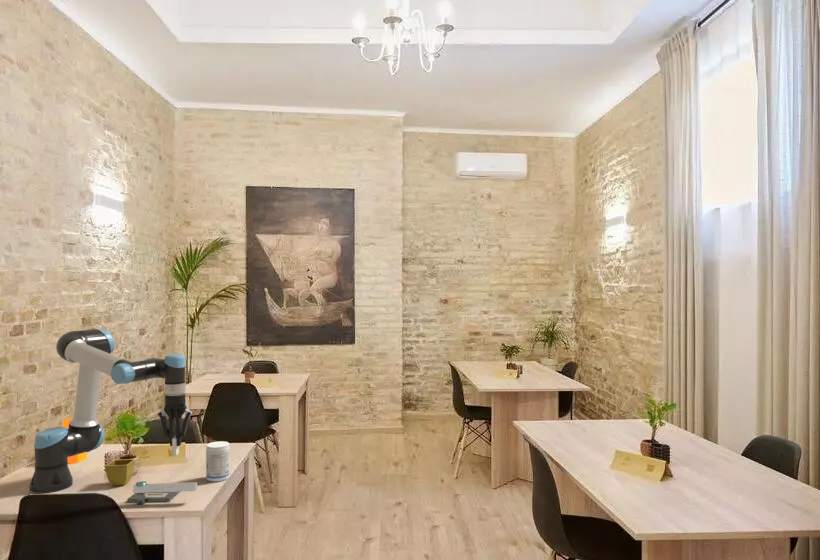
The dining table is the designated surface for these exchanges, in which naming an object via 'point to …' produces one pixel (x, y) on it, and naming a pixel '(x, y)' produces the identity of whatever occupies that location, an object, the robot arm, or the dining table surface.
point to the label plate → (155, 497)
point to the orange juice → (74, 458)
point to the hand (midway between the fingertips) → (175, 454)
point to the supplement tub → (217, 461)
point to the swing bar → (164, 487)
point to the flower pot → (120, 471)
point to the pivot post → (140, 498)
